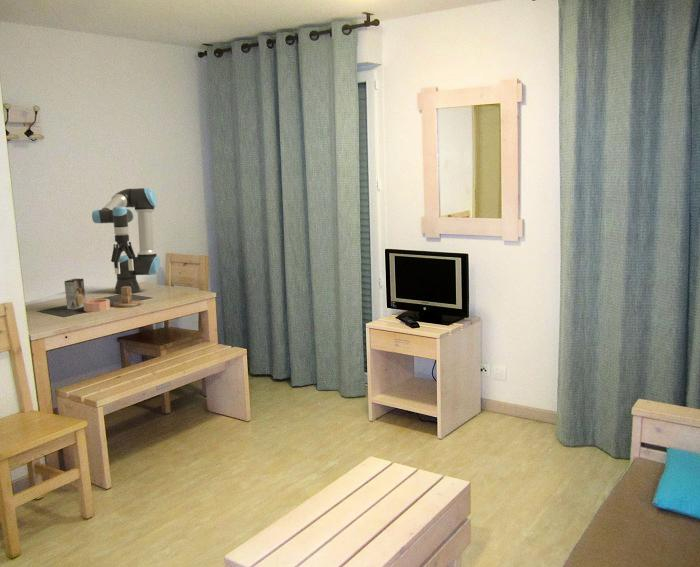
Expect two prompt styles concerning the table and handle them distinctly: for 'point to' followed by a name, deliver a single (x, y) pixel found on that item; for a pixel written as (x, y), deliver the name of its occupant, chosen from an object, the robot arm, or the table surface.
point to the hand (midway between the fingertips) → (124, 272)
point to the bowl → (96, 305)
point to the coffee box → (75, 293)
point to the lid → (126, 299)
